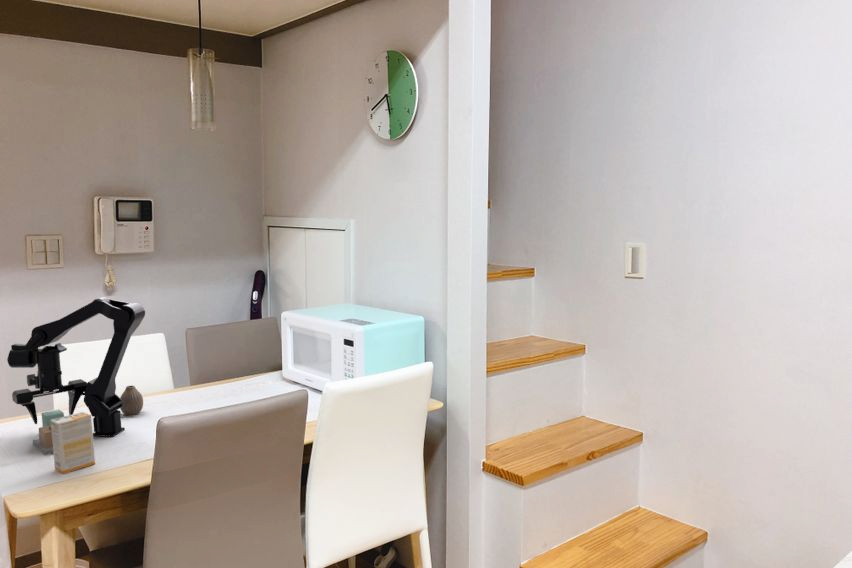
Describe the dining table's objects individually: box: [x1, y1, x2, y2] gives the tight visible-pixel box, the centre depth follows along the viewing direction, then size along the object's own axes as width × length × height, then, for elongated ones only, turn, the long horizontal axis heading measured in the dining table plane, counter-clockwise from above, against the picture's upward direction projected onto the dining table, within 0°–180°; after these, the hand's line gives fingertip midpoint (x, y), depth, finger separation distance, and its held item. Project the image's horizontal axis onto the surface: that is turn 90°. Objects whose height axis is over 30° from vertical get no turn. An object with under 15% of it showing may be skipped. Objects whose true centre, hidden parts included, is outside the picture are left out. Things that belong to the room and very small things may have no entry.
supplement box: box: [50, 411, 96, 474], centre depth 175 cm, size 8×5×13 cm, turn 141°
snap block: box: [41, 409, 65, 427], centre depth 201 cm, size 5×5×6 cm
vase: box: [119, 385, 144, 416], centre depth 219 cm, size 7×7×9 cm
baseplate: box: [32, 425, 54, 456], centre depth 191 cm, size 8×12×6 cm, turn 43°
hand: (53, 420), depth 201 cm, fingers open, 9 cm apart
